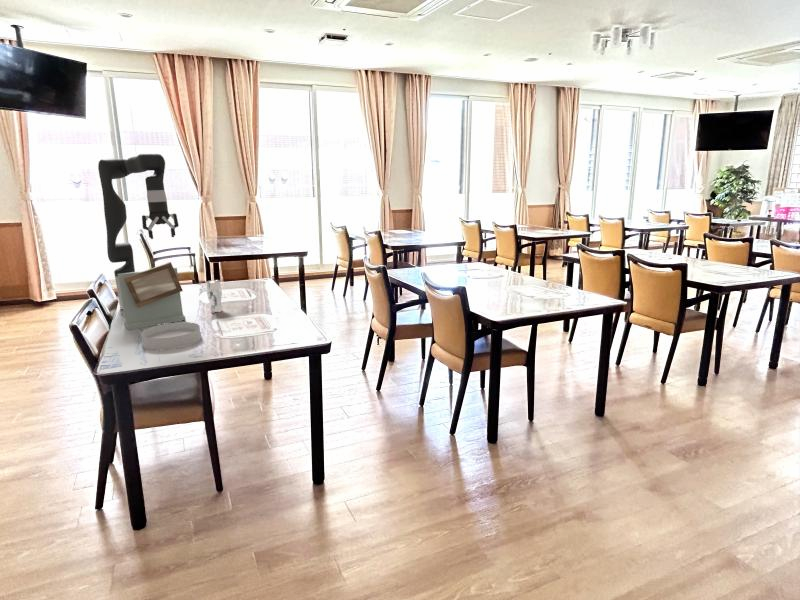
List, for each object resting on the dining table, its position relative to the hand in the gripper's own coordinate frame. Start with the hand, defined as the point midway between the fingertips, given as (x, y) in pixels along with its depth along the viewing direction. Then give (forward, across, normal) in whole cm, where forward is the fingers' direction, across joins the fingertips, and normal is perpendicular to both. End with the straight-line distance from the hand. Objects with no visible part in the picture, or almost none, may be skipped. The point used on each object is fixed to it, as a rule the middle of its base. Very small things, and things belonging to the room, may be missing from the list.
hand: (162, 238), depth 227 cm
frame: (+27, +5, 0) cm, 27 cm away
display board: (+38, +8, -4) cm, 39 cm away
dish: (+40, +6, +31) cm, 51 cm away
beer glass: (+38, -20, -6) cm, 44 cm away
